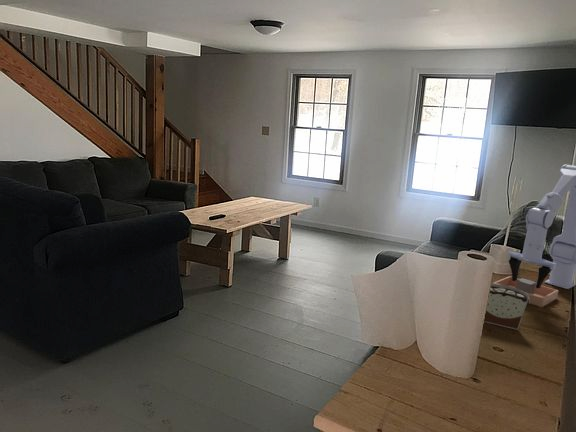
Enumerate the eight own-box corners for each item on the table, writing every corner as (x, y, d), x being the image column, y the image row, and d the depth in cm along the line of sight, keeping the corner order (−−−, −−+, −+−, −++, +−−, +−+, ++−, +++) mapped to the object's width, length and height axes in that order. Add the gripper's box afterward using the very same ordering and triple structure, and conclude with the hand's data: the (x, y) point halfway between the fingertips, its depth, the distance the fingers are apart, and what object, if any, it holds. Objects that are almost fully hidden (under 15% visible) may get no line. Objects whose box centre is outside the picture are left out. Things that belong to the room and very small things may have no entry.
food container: (523, 323, 133) (530, 290, 131) (524, 331, 128) (531, 296, 126) (477, 312, 138) (483, 280, 136) (475, 319, 133) (482, 286, 131)
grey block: (519, 290, 161) (522, 278, 160) (533, 295, 158) (536, 282, 157) (514, 293, 158) (516, 280, 157) (528, 297, 155) (531, 284, 154)
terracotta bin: (508, 283, 168) (509, 276, 167) (556, 298, 157) (558, 290, 156) (491, 291, 158) (492, 282, 158) (541, 307, 147) (543, 298, 147)
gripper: (506, 240, 156) (499, 279, 159) (553, 252, 146) (545, 293, 149) (515, 238, 161) (507, 275, 164) (561, 249, 151) (552, 289, 154)
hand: (526, 284), depth 157 cm, fingers open, 7 cm apart
